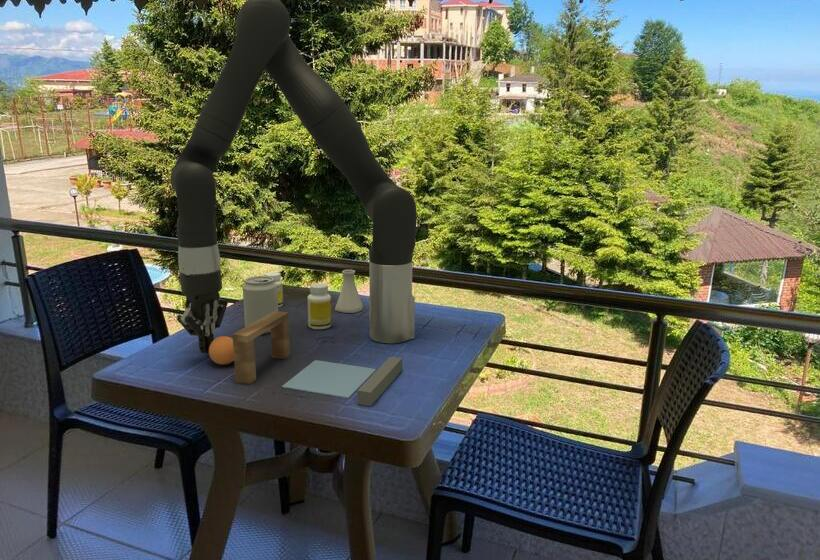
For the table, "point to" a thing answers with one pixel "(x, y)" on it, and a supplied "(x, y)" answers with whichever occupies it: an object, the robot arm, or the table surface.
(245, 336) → the bridge
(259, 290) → the can
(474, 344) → the table surface
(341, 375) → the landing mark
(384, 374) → the bar
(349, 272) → the flask
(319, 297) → the supplement bottle
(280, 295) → the supplement bottle
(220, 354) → the ball
